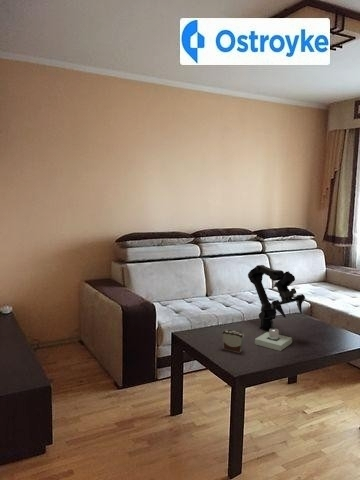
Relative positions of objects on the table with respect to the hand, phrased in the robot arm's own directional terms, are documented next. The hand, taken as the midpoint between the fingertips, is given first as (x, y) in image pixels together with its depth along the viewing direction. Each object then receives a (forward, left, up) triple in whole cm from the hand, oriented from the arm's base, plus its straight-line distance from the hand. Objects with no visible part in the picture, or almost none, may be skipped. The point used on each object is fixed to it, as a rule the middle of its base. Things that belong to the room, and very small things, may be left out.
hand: (293, 315), depth 218 cm
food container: (-20, -29, -16) cm, 39 cm away
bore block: (-7, -8, -16) cm, 19 cm away
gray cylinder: (-7, -8, -16) cm, 19 cm away
